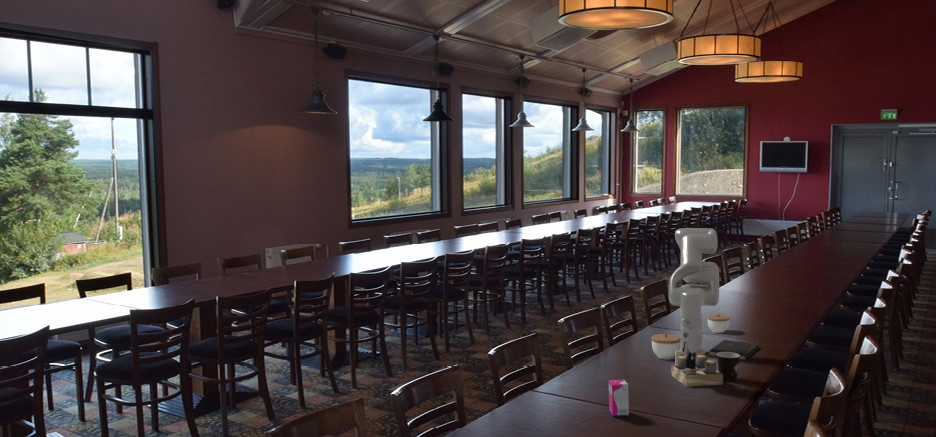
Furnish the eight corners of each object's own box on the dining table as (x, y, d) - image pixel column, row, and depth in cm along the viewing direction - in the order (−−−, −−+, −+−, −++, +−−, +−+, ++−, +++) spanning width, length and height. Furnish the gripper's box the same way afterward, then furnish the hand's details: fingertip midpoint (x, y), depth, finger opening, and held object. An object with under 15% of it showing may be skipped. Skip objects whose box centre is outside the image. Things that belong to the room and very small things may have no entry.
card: (675, 372, 289) (675, 351, 288) (696, 371, 289) (696, 350, 289) (675, 372, 288) (675, 351, 287) (696, 371, 289) (696, 350, 288)
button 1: (675, 368, 284) (675, 356, 283) (685, 367, 284) (685, 355, 284) (679, 371, 279) (679, 358, 279) (689, 370, 280) (689, 358, 279)
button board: (671, 375, 285) (671, 365, 285) (706, 373, 286) (706, 363, 286) (685, 386, 270) (685, 376, 270) (722, 384, 271) (722, 374, 271)
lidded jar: (732, 334, 349) (732, 315, 348) (711, 334, 349) (711, 316, 349) (725, 329, 360) (725, 311, 359) (704, 329, 360) (704, 311, 359)
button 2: (683, 379, 276) (683, 367, 275) (693, 378, 276) (693, 366, 276) (687, 382, 272) (687, 370, 271) (698, 381, 272) (698, 369, 272)
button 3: (694, 367, 284) (694, 355, 284) (704, 366, 285) (704, 354, 284) (699, 370, 280) (699, 357, 280) (709, 369, 280) (709, 357, 280)
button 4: (703, 372, 276) (703, 360, 276) (713, 372, 277) (713, 359, 276) (707, 375, 272) (707, 363, 272) (717, 375, 272) (717, 362, 272)
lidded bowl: (681, 361, 304) (681, 336, 303) (652, 360, 306) (652, 336, 305) (679, 353, 316) (679, 330, 315) (650, 353, 318) (650, 329, 318)
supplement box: (624, 410, 246) (624, 379, 245) (629, 416, 240) (628, 384, 239) (608, 411, 246) (608, 379, 245) (612, 417, 240) (612, 384, 239)
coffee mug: (725, 383, 272) (725, 358, 272) (712, 377, 281) (712, 353, 280) (750, 380, 275) (751, 355, 275) (737, 374, 284) (737, 350, 283)
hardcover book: (708, 355, 314) (708, 350, 313) (723, 344, 332) (723, 339, 332) (745, 361, 304) (745, 355, 304) (759, 349, 322) (759, 344, 322)
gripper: (692, 327, 264) (692, 374, 265) (707, 320, 275) (707, 365, 277) (673, 325, 269) (673, 371, 270) (689, 318, 280) (689, 362, 281)
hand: (690, 368), depth 273 cm, fingers closed
